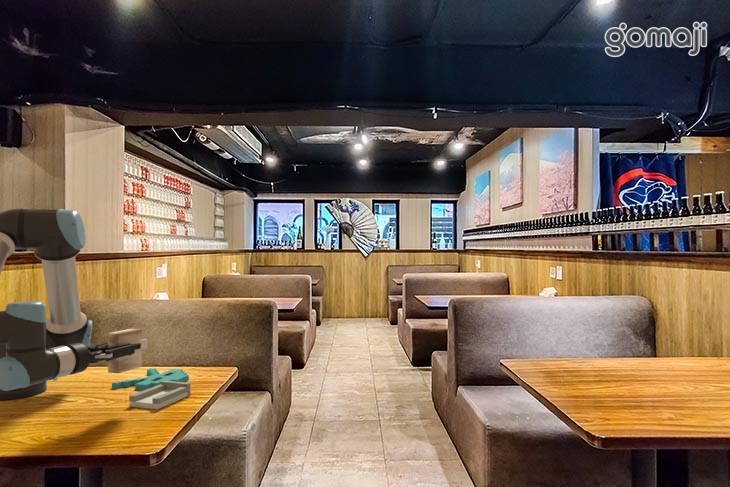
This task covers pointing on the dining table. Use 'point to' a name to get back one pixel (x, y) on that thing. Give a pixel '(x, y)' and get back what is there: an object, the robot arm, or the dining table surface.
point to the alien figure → (153, 379)
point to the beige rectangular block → (127, 361)
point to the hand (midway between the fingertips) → (140, 343)
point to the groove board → (152, 406)
